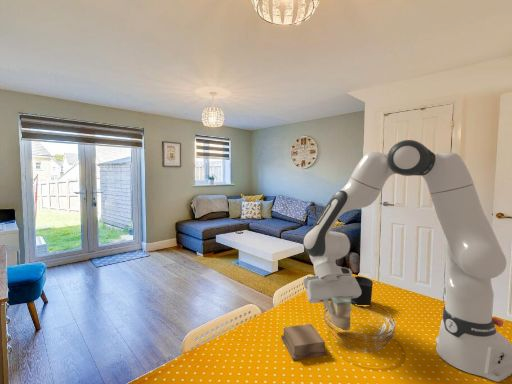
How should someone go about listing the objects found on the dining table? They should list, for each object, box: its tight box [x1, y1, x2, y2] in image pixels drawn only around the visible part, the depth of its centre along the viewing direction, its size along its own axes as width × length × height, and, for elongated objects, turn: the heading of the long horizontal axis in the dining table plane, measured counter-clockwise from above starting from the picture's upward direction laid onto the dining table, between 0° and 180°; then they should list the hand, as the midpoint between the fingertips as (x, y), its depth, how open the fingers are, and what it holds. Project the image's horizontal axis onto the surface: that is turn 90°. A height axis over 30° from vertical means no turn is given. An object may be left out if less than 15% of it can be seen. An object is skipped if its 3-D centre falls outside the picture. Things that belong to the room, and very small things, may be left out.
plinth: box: [280, 323, 328, 361], centre depth 86 cm, size 11×11×4 cm
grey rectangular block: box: [329, 296, 352, 331], centre depth 92 cm, size 5×5×10 cm
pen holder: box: [351, 275, 374, 306], centre depth 115 cm, size 9×9×10 cm
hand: (341, 312), depth 92 cm, fingers closed on grey rectangular block, 5 cm apart
